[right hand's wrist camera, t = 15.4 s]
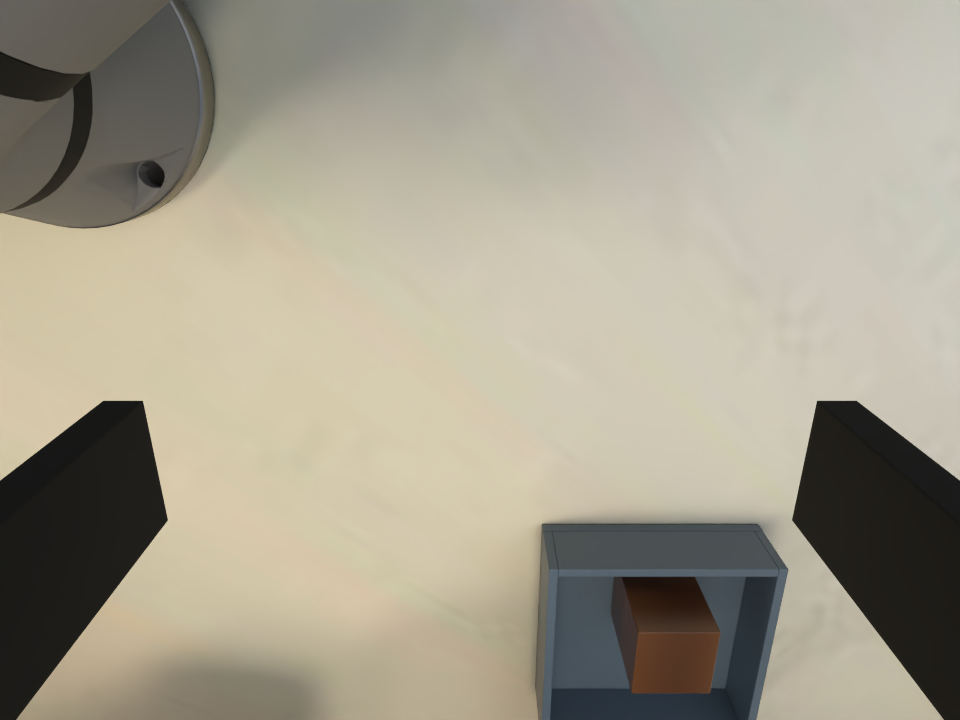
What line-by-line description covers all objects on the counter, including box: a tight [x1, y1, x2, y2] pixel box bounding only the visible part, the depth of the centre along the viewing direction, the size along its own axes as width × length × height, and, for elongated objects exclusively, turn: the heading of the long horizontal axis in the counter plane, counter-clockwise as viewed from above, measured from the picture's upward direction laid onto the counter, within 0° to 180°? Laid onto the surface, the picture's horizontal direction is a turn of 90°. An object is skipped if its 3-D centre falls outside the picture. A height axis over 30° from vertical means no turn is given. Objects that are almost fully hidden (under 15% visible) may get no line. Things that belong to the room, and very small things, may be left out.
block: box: [611, 577, 721, 693], centre depth 43 cm, size 5×5×7 cm
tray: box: [535, 524, 788, 720], centre depth 46 cm, size 15×25×9 cm, turn 0°
